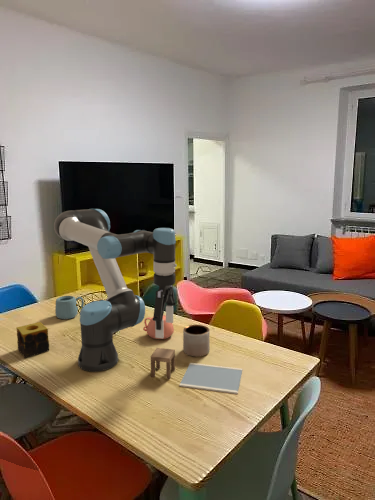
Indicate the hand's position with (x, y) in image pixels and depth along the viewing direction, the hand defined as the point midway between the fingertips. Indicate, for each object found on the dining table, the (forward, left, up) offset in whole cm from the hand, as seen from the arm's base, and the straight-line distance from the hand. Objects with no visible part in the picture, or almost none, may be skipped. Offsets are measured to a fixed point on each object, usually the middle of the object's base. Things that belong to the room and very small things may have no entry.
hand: (164, 329), depth 136 cm
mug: (-65, +43, -17) cm, 79 cm away
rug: (+17, 0, -17) cm, 24 cm away
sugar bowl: (-13, +30, -17) cm, 37 cm away
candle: (-59, +4, -17) cm, 61 cm away
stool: (-1, -1, -17) cm, 17 cm away
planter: (+7, +19, -17) cm, 27 cm away
